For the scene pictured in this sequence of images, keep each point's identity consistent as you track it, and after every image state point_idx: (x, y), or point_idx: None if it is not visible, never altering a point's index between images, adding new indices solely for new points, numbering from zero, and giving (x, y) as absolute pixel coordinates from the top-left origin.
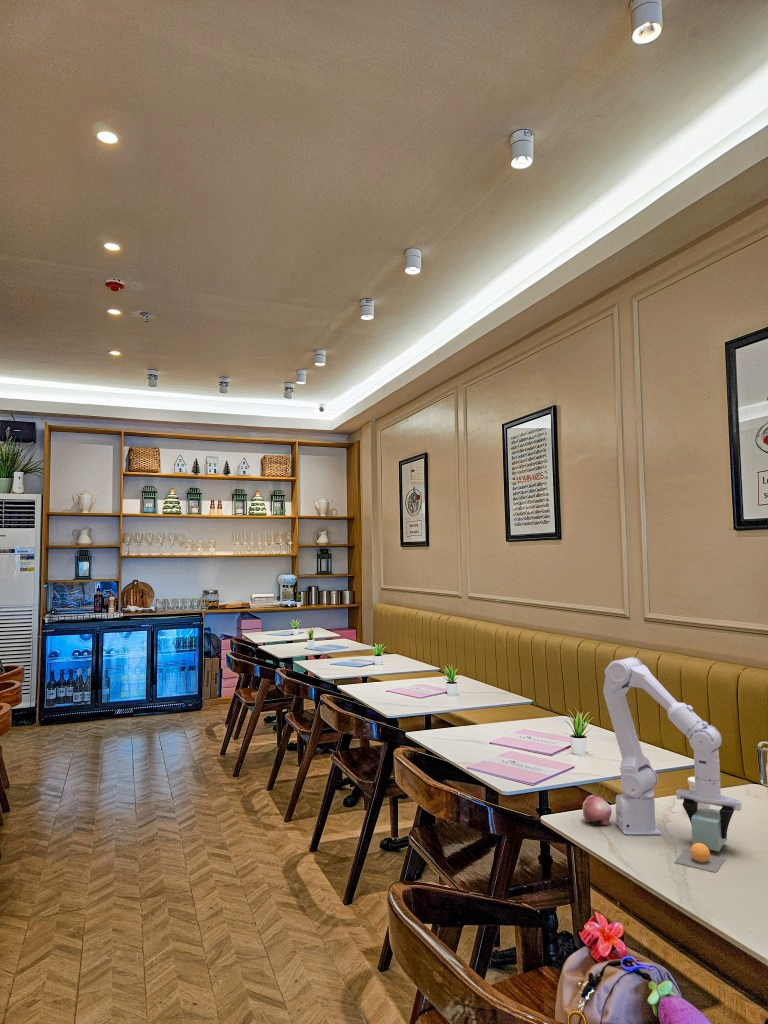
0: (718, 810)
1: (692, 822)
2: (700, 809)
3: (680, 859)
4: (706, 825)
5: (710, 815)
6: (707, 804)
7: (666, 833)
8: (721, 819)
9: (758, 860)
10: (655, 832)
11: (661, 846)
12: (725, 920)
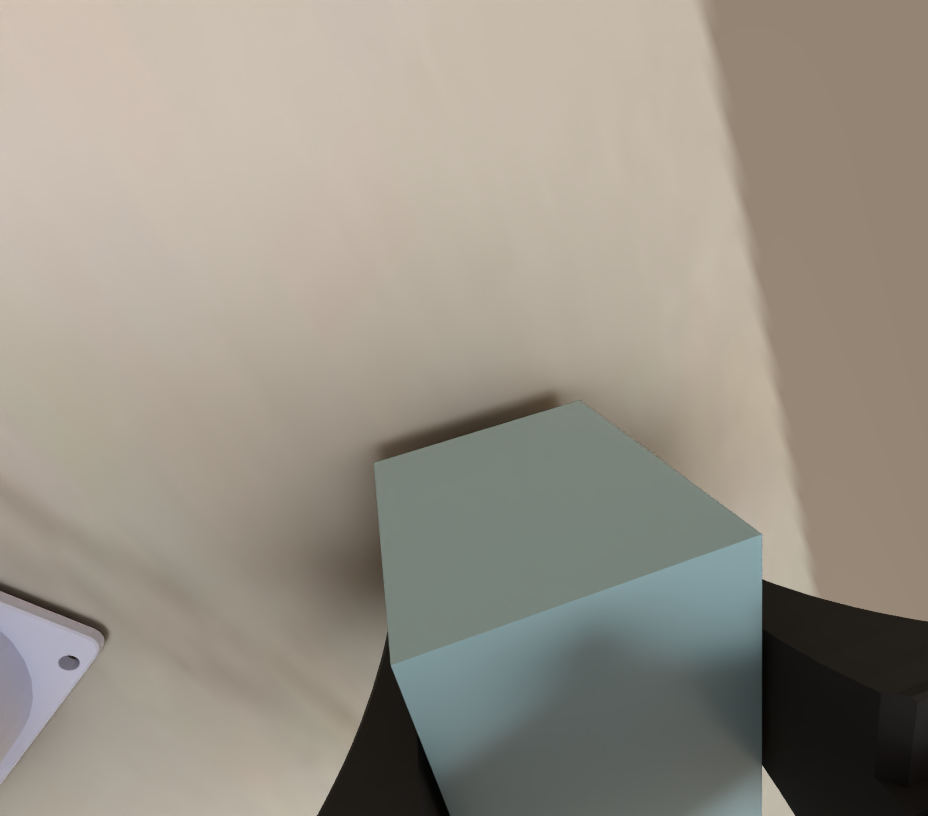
0: (666, 578)
1: None
2: (453, 740)
3: None
4: None
5: (643, 780)
6: None
7: (99, 565)
8: (782, 781)
9: (783, 462)
10: (66, 678)
11: (271, 764)
12: None
